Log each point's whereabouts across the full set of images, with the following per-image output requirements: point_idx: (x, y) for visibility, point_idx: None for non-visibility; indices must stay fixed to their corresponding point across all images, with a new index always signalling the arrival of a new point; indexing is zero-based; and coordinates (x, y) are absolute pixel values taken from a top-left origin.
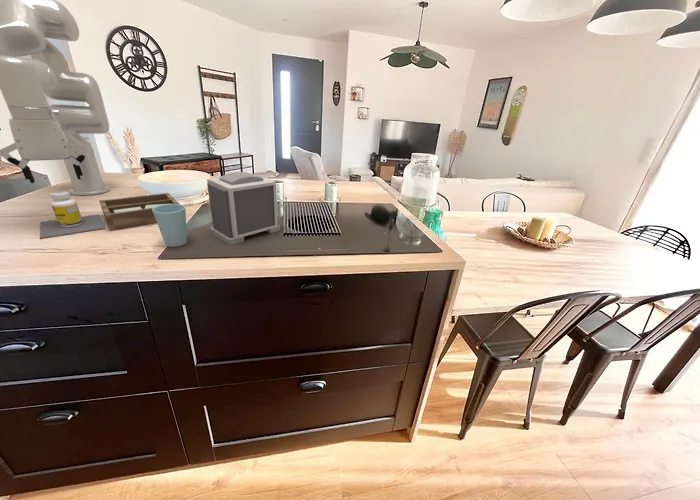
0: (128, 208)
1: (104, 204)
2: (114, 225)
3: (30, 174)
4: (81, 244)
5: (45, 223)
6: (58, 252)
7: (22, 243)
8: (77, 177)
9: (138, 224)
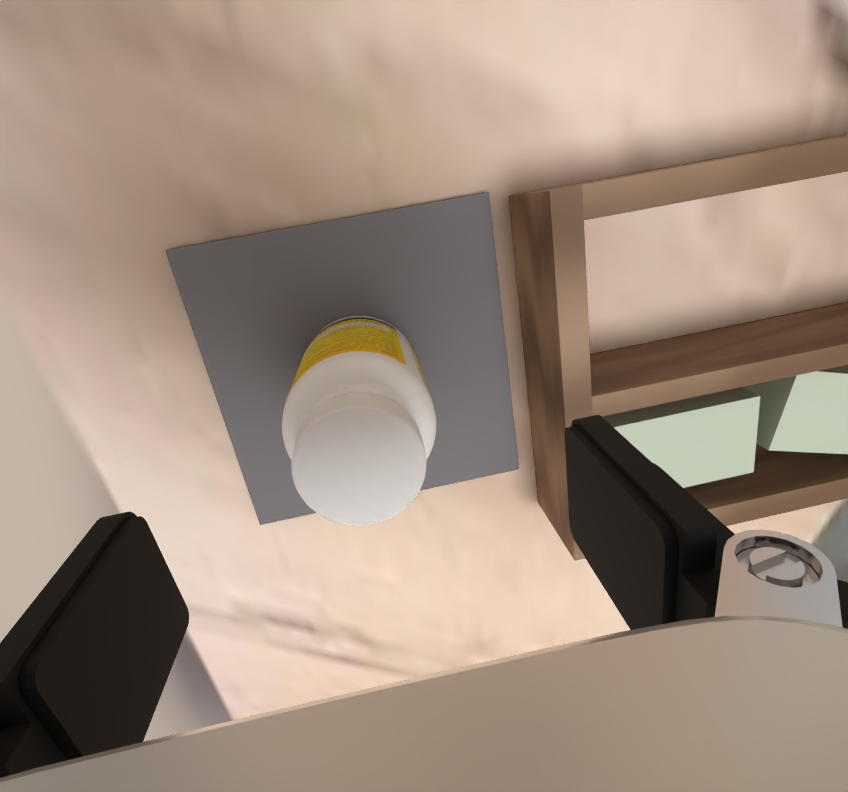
0: (693, 415)
1: (579, 329)
2: None
3: (147, 713)
4: (435, 616)
5: (207, 295)
6: (370, 665)
7: (204, 548)
8: (582, 545)
9: None
